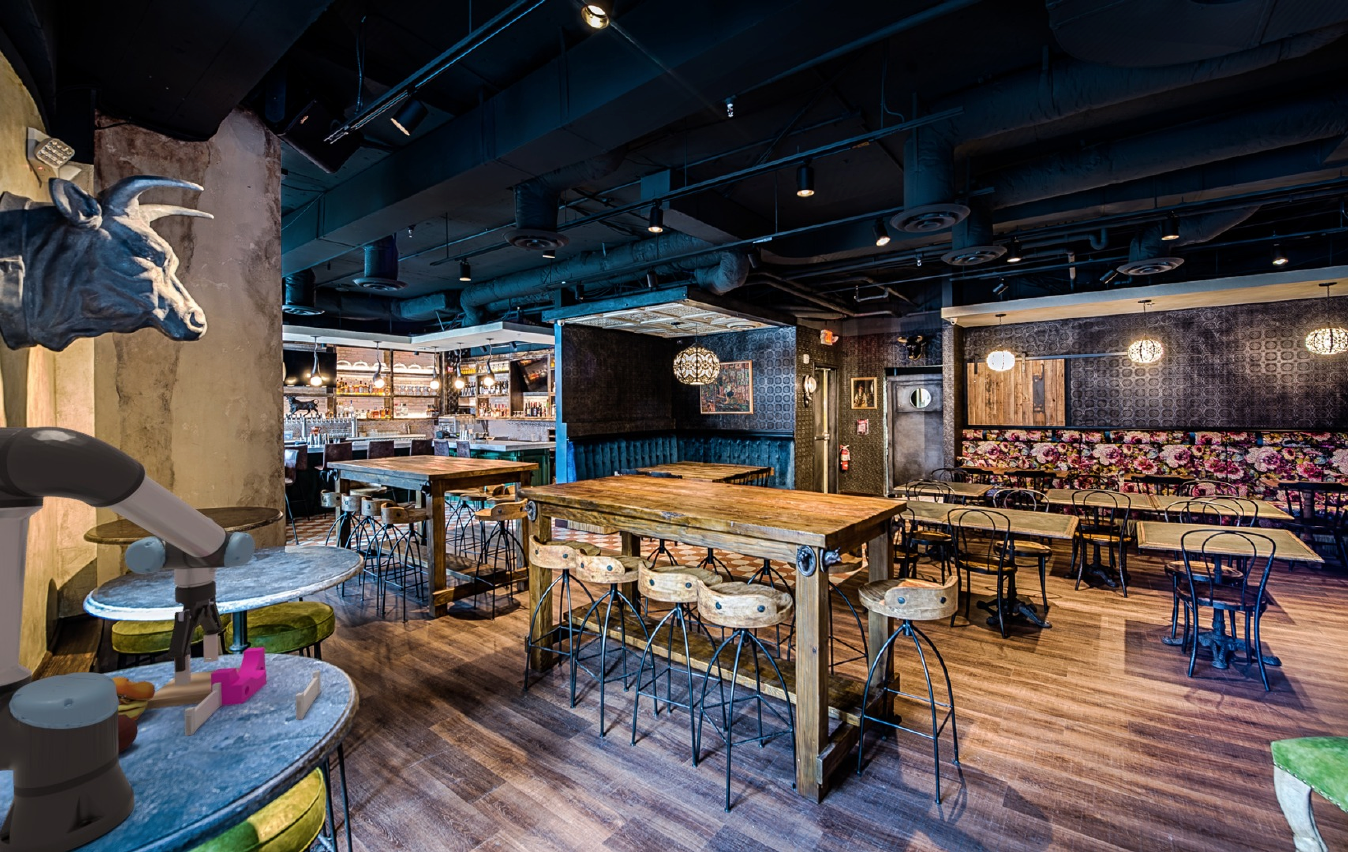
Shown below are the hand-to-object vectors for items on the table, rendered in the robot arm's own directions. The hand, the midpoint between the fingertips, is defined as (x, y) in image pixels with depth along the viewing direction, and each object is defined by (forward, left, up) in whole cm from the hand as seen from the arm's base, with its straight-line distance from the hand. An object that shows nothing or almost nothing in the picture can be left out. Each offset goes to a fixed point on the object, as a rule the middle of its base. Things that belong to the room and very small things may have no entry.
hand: (197, 672), depth 137 cm
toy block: (-3, -11, -5) cm, 12 cm away
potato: (-26, +3, -5) cm, 27 cm away
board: (0, 0, -5) cm, 5 cm away
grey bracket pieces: (-17, -18, -5) cm, 25 cm away
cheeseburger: (-14, +10, -5) cm, 18 cm away
